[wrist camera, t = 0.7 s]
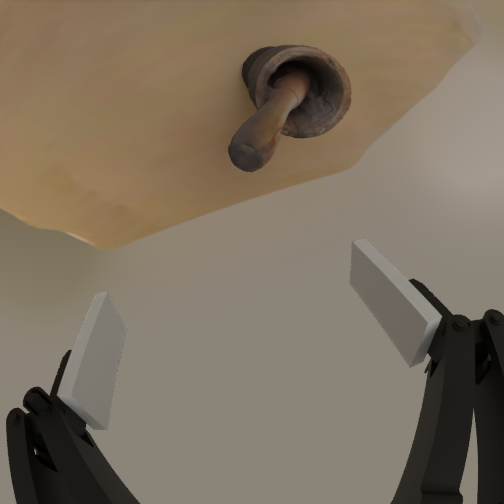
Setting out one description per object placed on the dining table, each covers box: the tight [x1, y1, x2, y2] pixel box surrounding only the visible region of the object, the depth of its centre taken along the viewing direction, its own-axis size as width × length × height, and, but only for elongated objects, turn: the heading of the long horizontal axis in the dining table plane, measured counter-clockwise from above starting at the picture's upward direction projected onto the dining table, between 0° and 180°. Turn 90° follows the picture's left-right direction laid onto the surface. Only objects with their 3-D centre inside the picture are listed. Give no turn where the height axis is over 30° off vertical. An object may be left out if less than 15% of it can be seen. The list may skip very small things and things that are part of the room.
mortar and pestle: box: [228, 45, 351, 172], centre depth 23 cm, size 12×9×20 cm
